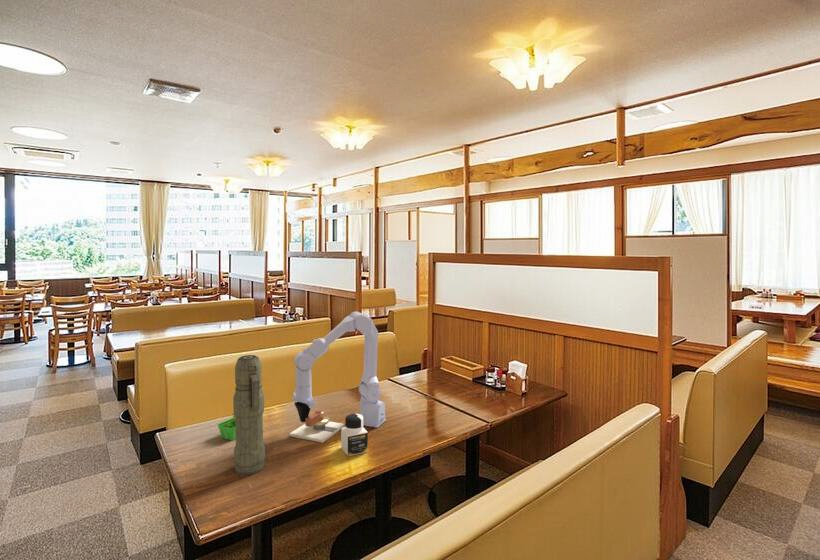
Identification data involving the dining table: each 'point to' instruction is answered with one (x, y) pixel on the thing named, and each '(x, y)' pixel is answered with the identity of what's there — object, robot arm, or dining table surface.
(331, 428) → the board
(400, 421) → the dining table surface
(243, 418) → the thermos
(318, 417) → the lever handle
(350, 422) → the medicine bottle
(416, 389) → the dining table surface
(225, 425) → the fruit basket
